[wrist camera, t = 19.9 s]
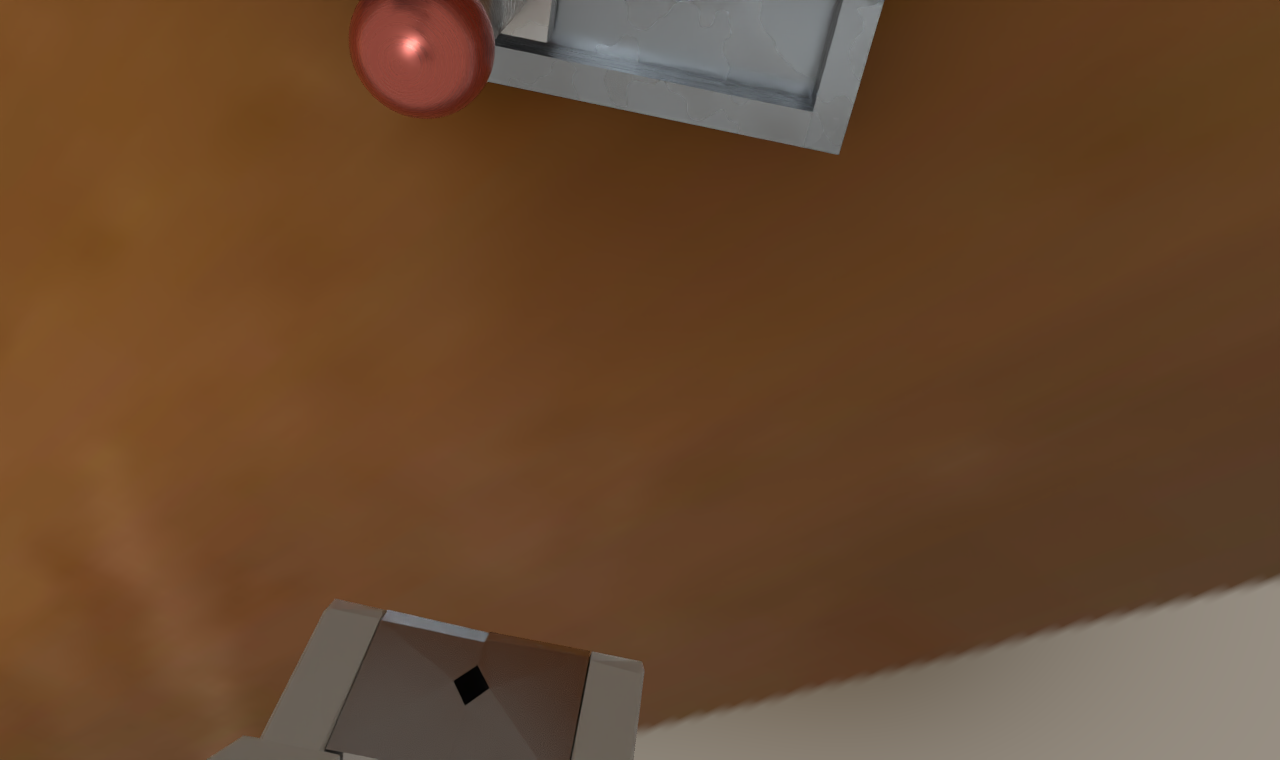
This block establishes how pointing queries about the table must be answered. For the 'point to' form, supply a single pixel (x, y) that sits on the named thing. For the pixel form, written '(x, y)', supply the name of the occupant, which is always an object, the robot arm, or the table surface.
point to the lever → (437, 48)
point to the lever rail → (706, 62)
